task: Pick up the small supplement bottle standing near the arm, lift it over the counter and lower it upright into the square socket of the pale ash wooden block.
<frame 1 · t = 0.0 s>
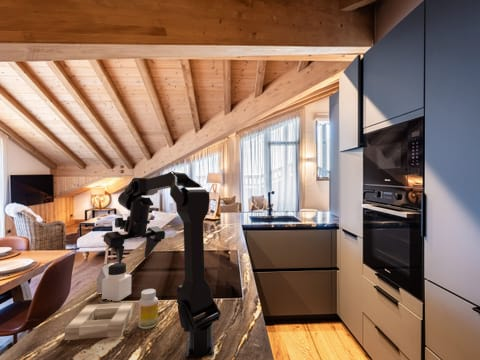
hand: (133, 260, 89), 15 cm above the countertop, tool pointing down, fingers open, 9 cm apart
socket block: (102, 324, 77), on the countertop
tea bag: (106, 291, 102), on the countertop
medicine bottle: (116, 297, 97), on the countertop
supplement bottle: (148, 325, 77), on the countertop
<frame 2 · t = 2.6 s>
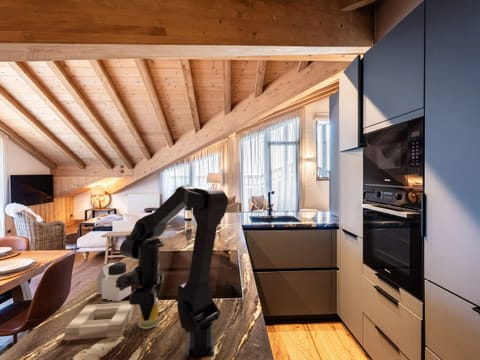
hand: (148, 315, 77), 3 cm above the countertop, tool pointing down, fingers closed on supplement bottle, 5 cm apart
supplement bottle: (148, 325, 77), on the countertop, touching gripper
everything else where it was.
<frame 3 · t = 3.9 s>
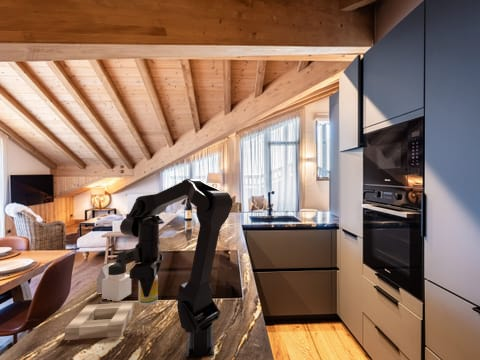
hand: (148, 292, 77), 9 cm above the countertop, tool pointing down, fingers closed on supplement bottle, 5 cm apart
supplement bottle: (148, 302, 77), point 6 cm above the countertop, touching gripper
everything else where it was.
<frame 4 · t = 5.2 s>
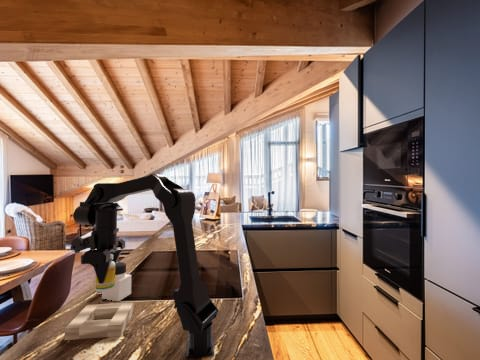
hand: (104, 279, 78), 13 cm above the countertop, tool pointing down, fingers closed on supplement bottle, 5 cm apart
supplement bottle: (104, 289, 78), point 10 cm above the countertop, touching gripper
everything else where it was.
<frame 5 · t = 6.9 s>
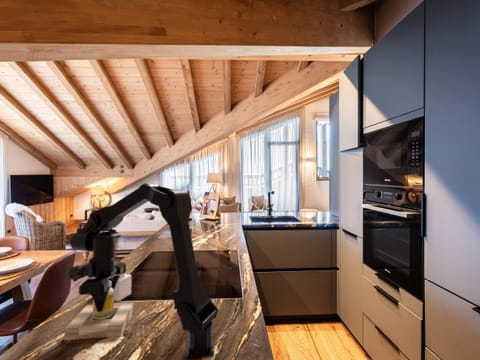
hand: (103, 306, 77), 5 cm above the countertop, tool pointing down, fingers closed on supplement bottle, 5 cm apart
supplement bottle: (103, 316, 77), point 2 cm above the countertop, touching gripper
everything else where it was.
when the fingers open (4 cm above the countertop, at t = 8.1 s): supplement bottle drops 1 cm, resting in socket block.
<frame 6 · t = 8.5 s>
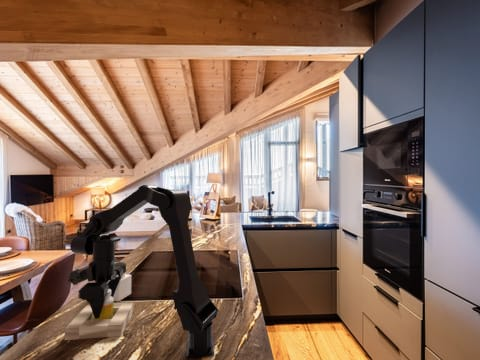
hand: (103, 310, 77), 4 cm above the countertop, tool pointing down, fingers open, 9 cm apart
supplement bottle: (103, 325, 77), resting in socket block
everything else where it was.
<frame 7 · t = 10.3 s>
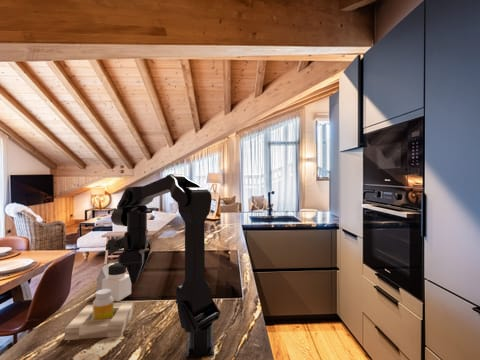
hand: (136, 278, 82), 12 cm above the countertop, tool pointing down, fingers open, 9 cm apart
nothing on the countertop moved.
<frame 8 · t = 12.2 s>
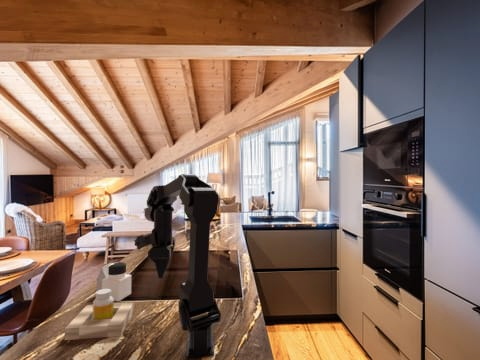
hand: (162, 273, 86), 12 cm above the countertop, tool pointing down, fingers open, 9 cm apart
nothing on the countertop moved.
at the end: supplement bottle 0.1 cm off-centre on the socket block, point 0.0 cm above the socket block's base; supplement bottle tilted 0°; the gripper is holding nothing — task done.
